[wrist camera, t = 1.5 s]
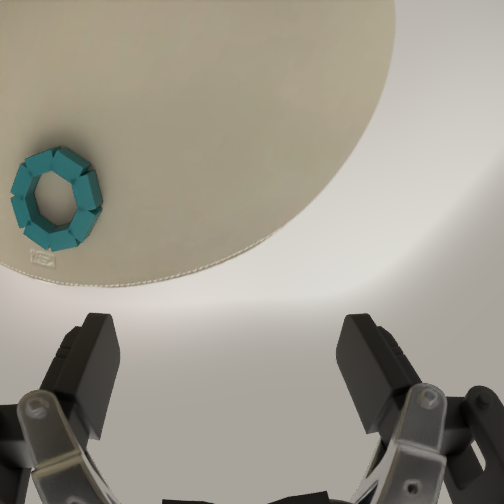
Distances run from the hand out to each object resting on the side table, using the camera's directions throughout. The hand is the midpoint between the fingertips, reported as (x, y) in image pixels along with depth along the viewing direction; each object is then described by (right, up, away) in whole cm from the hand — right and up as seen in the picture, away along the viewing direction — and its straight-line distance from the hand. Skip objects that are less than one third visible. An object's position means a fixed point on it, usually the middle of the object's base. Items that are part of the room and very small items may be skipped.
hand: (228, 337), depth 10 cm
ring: (-19, +8, +17) cm, 27 cm away
